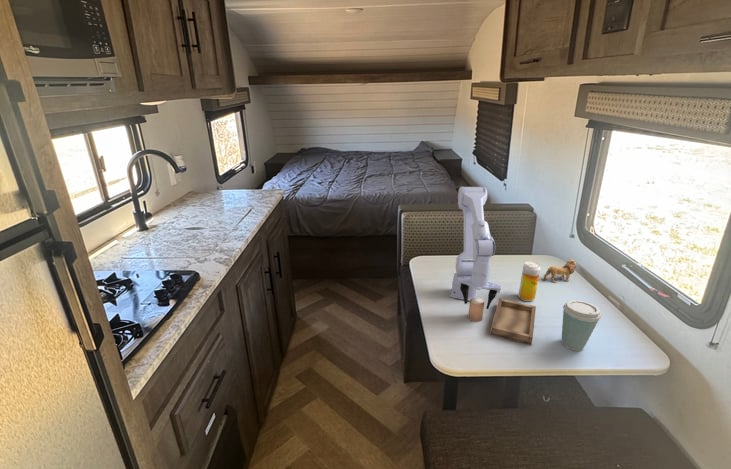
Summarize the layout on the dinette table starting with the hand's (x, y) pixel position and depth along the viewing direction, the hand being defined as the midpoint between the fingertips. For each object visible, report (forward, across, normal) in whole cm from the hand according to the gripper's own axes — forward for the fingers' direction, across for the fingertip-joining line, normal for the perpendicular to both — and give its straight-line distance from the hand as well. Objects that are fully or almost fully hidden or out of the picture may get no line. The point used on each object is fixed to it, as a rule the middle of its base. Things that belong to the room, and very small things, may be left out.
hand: (476, 305), depth 135 cm
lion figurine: (+6, +27, +44) cm, 52 cm away
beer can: (+6, +16, +22) cm, 28 cm away
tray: (+5, +13, +2) cm, 14 cm away
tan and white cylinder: (+6, 0, 0) cm, 6 cm away
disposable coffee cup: (+6, +32, -2) cm, 32 cm away
